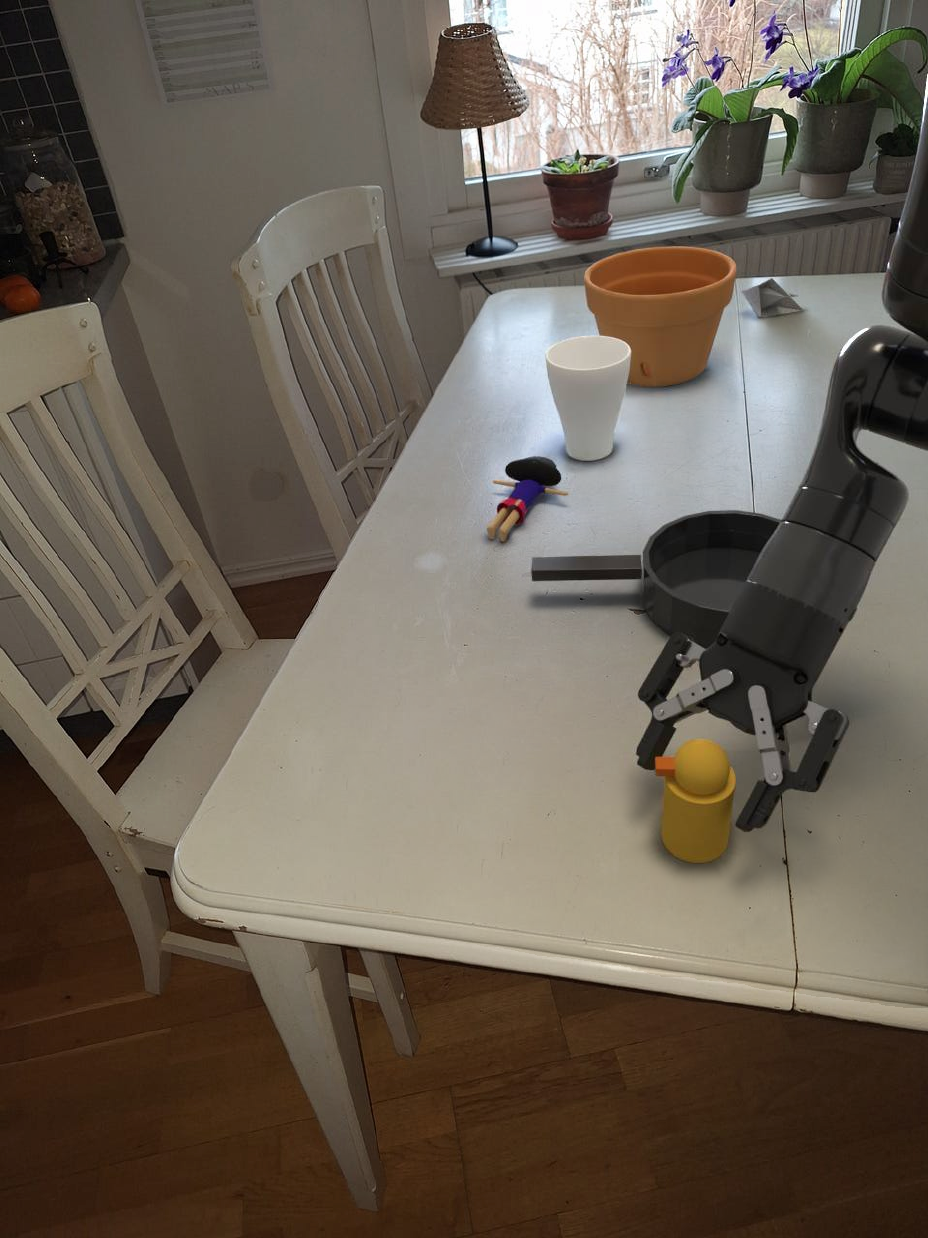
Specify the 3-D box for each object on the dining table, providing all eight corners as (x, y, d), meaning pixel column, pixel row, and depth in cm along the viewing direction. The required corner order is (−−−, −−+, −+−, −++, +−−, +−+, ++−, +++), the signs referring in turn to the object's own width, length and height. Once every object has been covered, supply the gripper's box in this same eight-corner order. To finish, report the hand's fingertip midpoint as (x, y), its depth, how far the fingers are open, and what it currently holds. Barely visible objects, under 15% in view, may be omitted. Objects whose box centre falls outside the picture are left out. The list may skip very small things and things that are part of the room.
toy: (536, 553, 101) (584, 483, 110) (534, 520, 98) (583, 451, 107) (458, 537, 105) (511, 471, 115) (453, 505, 102) (508, 440, 112)
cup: (536, 443, 120) (531, 347, 112) (606, 424, 122) (606, 328, 114) (571, 477, 112) (567, 377, 104) (644, 456, 114) (647, 356, 106)
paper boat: (778, 290, 151) (825, 287, 143) (767, 328, 152) (814, 327, 144) (733, 267, 144) (780, 261, 136) (722, 307, 145) (768, 304, 137)
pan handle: (640, 565, 91) (640, 554, 90) (641, 579, 89) (641, 568, 88) (533, 567, 92) (532, 556, 91) (531, 581, 91) (531, 570, 90)
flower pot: (571, 394, 131) (568, 293, 121) (601, 338, 146) (600, 245, 136) (719, 401, 124) (728, 295, 115) (734, 342, 139) (743, 244, 130)
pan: (800, 547, 96) (806, 507, 93) (833, 652, 83) (842, 610, 80) (638, 550, 98) (639, 512, 95) (646, 653, 85) (647, 612, 82)
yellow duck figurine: (723, 811, 70) (735, 722, 64) (731, 864, 66) (744, 775, 60) (650, 809, 71) (654, 722, 65) (653, 862, 67) (658, 774, 61)
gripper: (693, 550, 65) (593, 746, 66) (883, 630, 56) (762, 852, 58) (728, 575, 71) (635, 753, 72) (905, 650, 62) (795, 851, 64)
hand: (692, 797), depth 65 cm, fingers open, 8 cm apart
